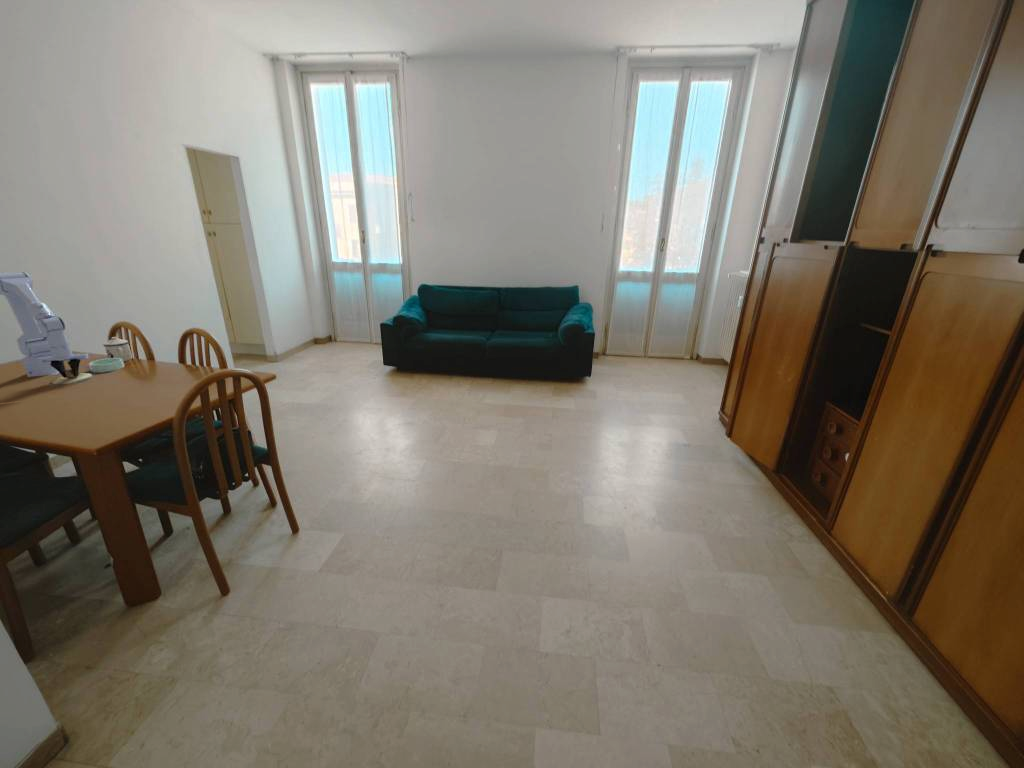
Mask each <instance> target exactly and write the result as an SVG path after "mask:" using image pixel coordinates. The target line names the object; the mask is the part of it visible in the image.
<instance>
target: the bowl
mask: <svg viewBox="0 0 1024 768" xmlns="http://www.w3.org/2000/svg"><path fill="white" fill-rule="evenodd" d="M88 367H89V369H90V371H91V372H92V373H106V372H107V373H108V372H113V371H117V370H120V369H123V368H124V367H125V361H123V359H121V358H103V359H97V360H93V361H90V362H89V363H88Z"/></svg>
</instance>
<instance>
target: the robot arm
mask: <svg viewBox="0 0 1024 768" xmlns="http://www.w3.org/2000/svg"><path fill="white" fill-rule="evenodd" d="M33 282H34V281H33V279H32V277H31V276H30V275H29V274H28V273H27V272H25V271H21V272H7V273H4V272H3V273H0V295H2V296H4V297H5V299H6V300H7V302H8V304H9V306H10V308H11V311H12V313H13V314H14V317H15V319H16V320H17V323H18V325H19V327H20V328H21V331H22V334H21V335H20V336H19V337H18V338H17V339H16V342H17V346H18V349H19V351H20V353H21V354H22V355H23V357H22V358H21V363H22V366H23V368H24V370H25V373H26V375H27V378H31V377H42V376H51V375H57V374H59V373H60V375H61V377H62V376H63V377H64V378H66V374H65V372H64V370H67V369H66V367H65V362H64V361H67V364H68V365H69V367H70V369H72V371H73V374H74V376H75V377H77V376H79V374H80V373H79V369H80V368H79V367H80V363H81V360H88V359H89V358H90V357H89V354H88V353H73V351H72V349H71V346H70V344H69V341H68V338H67V336H66V333H65V330H66V324H65V322H64V320H63V319H62V318H61V316H58V314H55V313H54V312H53V311H52V310H51V309H50V307H48V305H47V304H46V303H44V302H40V300H39V299H38V298H37V296H36V294H35V292H34V291H33V284H34V283H33Z"/></svg>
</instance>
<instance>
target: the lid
mask: <svg viewBox="0 0 1024 768" xmlns="http://www.w3.org/2000/svg"><path fill="white" fill-rule="evenodd" d="M64 372H65V374H66V378H64V377H63V376H62V375H61V376H59V377H55V378H54V379H52V380H50V381H51V383H52V384H56V385H55V386H63V385H62V384H65V385H72V384H71V383H74V384H78V383H77V382H81V381H85V380H88V379H89V380H91V379H92V378H93V377H92V375H91V374H92V373H88V372H87V373H85V372H84V373H79V376H77V377H75V376H74V374H73V371H72V369H71V368H68V369H66V370H64ZM90 378H91V379H90ZM89 380H88V381H89Z"/></svg>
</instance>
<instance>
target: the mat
mask: <svg viewBox="0 0 1024 768" xmlns="http://www.w3.org/2000/svg"><path fill="white" fill-rule="evenodd" d="M90 374H91V375H92V378H93V377H94V376H95V375H97V373H90ZM92 378H90V379H88V380H85V381H81V382H77V383H76V384H81V383H82V384H83V383H87V382H88V381H90V380H91V379H92ZM73 384H74V385H75V383H71V384H70V385H73ZM64 385H66V384H62V385H61V386H64ZM53 386H57V385H56V384H52V382H51V383H49V384H48V385H46V387H53Z"/></svg>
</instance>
